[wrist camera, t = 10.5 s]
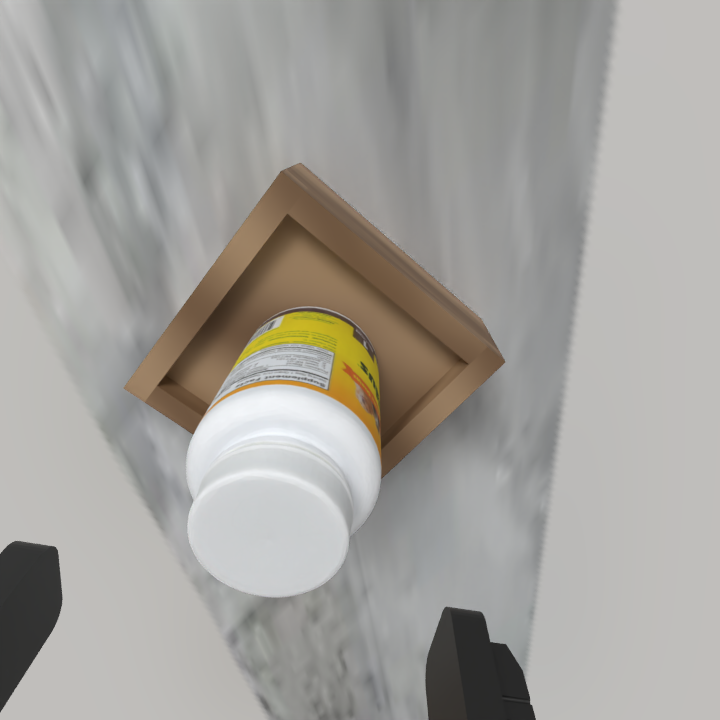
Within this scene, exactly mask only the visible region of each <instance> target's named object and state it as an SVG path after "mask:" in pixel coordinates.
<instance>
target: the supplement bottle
mask: <svg viewBox="0 0 720 720" xmlns="http://www.w3.org/2000/svg"><path fill="white" fill-rule="evenodd" d="M381 473H382V463H381V428H380V392H379V368H378V361H377V357H376V353H375V350H374V348H373V346H372V344H371V342H370V340H369V339H368V337H367V336H366V334H365V333H364V332H363V331H362V329H361V328H360V327H359V326H358V325H357V324H355V323H354V322H353V321H352V320H350V319H349V318H347V317H345V316H344V315H342V314H340V313H338V312H335V311H332V310H329V309H326V308H321V307H311V306H307V307H296V308H292V309H288V310H285V311H282V312H280V313H278V314H276V315H274V316H272V317H271V318H269V319H268V320H267V321H265V322H264V323H263V324H262V325H261V326H260V327H259V328H258V329H257V330H256V332H255V333H254V335H253V336H252V337H251V339H250V340H249V342H248V344H247V345H246V347H245V348H244V350H243V352H242V353H241V355H240V357H239V358H238V360H237V362H236V363H235V365H234V366H233V368H232V370H231V372H230V373H229V375H228V376H227V378H226V380H225V381H224V383H223V385H222V386H221V388H220V390H219V391H218V393H217V395H216V396H215V398H214V400H213V401H212V403H211V405H210V406H209V408H208V410H207V411H206V413H205V415H204V416H203V418H202V420H201V421H200V423H199V425H198V427H197V429H196V430H195V433H194V435H193V437H192V439H191V441H190V445H189V448H188V452H187V458H186V477H187V483H188V487H189V490H190V493H191V495H192V498H193V500H194V502H193V504H192V507H191V509H190V512H189V516H188V522H187V531H188V539H189V543H190V546H191V548H192V551H193V553H194V555H195V556H196V558H197V559H198V561H199V562H200V564H201V565H202V566H203V567H204V568H205V569H206V570H207V571H208V572H209V573H210V574H211V575H212V576H214V577H215V578H216V579H217V580H219V581H220V582H222V583H224V584H225V585H227V586H229V587H231V588H233V589H236V590H238V591H241V592H244V593H247V594H252V595H257V596H263V597H275V598H276V597H289V596H296V595H300V594H304V593H307V592H309V591H312V590H314V589H316V588H318V587H320V586H321V585H323V584H325V583H326V582H327V581H329V580H330V579H331V578H332V577H333V576H334V575H335V574H336V573H337V572H338V571H339V569H340V568H341V566H342V565H343V563H344V561H345V558H346V556H347V553H348V549H349V544H350V536H352V535H353V534H354V533H355V532H356V531H357V530H358V529H359V528H360V527H361V526H362V525H363V524H364V523H365V521H366V520H367V519H368V517H369V516H370V514H371V512H372V510H373V508H374V506H375V504H376V501H377V499H378V496H379V491H380V485H381Z"/></svg>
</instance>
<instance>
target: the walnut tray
mask: <svg viewBox="0 0 720 720" xmlns="http://www.w3.org/2000/svg"><path fill="white" fill-rule="evenodd" d="M307 306H311V307H321V308H326V309H329V310H332V311H335V312H338V313H340V314H342V315H344V316H345V317H347V318H349V319H350V320H352V321H353V322H354V323H355V324H357V325H358V326H359V327H360V328H361V329H362V331H363V332H364V333H365V334H366V336H367V337H368V339H369V340H370V342H371V344H372V346H373V348H374V350H375V353H376V357H377V361H378V368H379V392H380V428H381V463H382V473H381V479H382V478H383V477H384V476H385V475H386V474H387V473H388V472H389V471H390V470H391V469H392V468H393V467H394V466H396V465H397V464H398V463H399V462H400V461H401V460H402V459H403V458H404V457H405V456H406V455H407V454H408V453H409V452H410V451H411V450H413V449H414V448H415V447H416V446H417V445H418V444H419V443H420V442H421V441H422V440H423V439H424V438H425V437H426V436H427V435H429V434H430V433H431V432H432V431H433V430H434V429H435V428H436V427H437V426H438V425H439V424H440V423H441V422H442V421H443V420H444V419H446V418H447V417H448V416H449V415H450V414H451V413H452V412H453V411H454V410H455V409H456V408H457V407H458V406H459V405H460V404H461V403H463V402H464V401H465V400H466V399H467V398H468V397H469V396H470V395H471V394H472V393H473V392H474V391H475V390H476V389H477V388H478V387H480V386H481V385H482V384H483V383H484V382H485V381H486V380H487V379H488V378H489V377H490V376H491V375H492V374H493V373H494V372H495V371H497V370H498V369H499V368H500V367H501V366H502V365H503V364H504V363H505V360H504V358H503V357H502V355H501V353H500V351H499V350H498V348H497V346H496V344H495V342H494V341H493V339H492V337H491V335H490V334H489V332H488V330H487V328H486V326H485V325H484V323H483V321H482V319H480V318H479V317H478V316H477V315H476V314H475V313H474V312H472V311H471V310H470V309H469V308H468V307H467V306H465V305H464V304H463V303H462V302H461V301H460V300H459V299H457V298H456V297H455V296H454V295H453V294H452V293H450V292H449V291H448V290H447V289H446V288H445V287H444V286H442V285H441V284H440V283H439V282H438V281H437V280H435V279H434V278H433V277H432V276H431V275H430V274H429V273H427V272H426V271H425V270H424V269H423V268H422V267H420V266H419V265H418V264H417V263H416V262H415V261H414V260H412V259H411V258H410V257H409V256H408V255H407V254H405V253H404V252H403V251H402V250H401V249H400V248H398V247H397V246H396V245H395V244H394V243H393V242H392V241H390V240H389V239H388V238H387V237H386V236H385V235H383V234H382V233H381V232H380V231H379V230H378V229H377V228H375V227H374V226H373V225H372V224H371V223H370V222H368V221H367V220H366V219H365V218H364V217H363V216H362V215H360V214H359V213H358V212H357V211H356V210H355V209H353V208H352V207H351V206H350V205H349V204H348V203H347V202H345V201H344V200H343V199H342V198H341V197H340V196H338V195H337V194H336V193H335V192H334V191H333V190H332V189H330V188H329V187H328V186H327V185H326V184H325V183H323V182H322V181H321V180H320V179H319V178H318V177H317V176H315V175H314V174H313V173H312V172H311V171H310V170H308V169H307V168H306V167H305V166H304V165H303V164H302V163H299V164H296V165H294V166H292V167H290V168H287V169H285V170H283V171H281V172H280V174H279V175H278V176H277V178H276V179H275V180H274V182H273V183H272V185H271V186H270V187H269V189H268V190H267V191H266V193H265V194H264V196H263V197H262V198H261V200H260V201H259V202H258V204H257V205H256V207H255V208H254V209H253V211H252V212H251V213H250V215H249V216H248V218H247V219H246V220H245V222H244V223H243V224H242V226H241V227H240V229H239V230H238V231H237V233H236V234H235V235H234V237H233V238H232V240H231V241H230V242H229V244H228V245H227V246H226V248H225V249H224V251H223V252H222V253H221V255H220V256H219V257H218V259H217V260H216V262H215V263H214V264H213V266H212V267H211V268H210V270H209V271H208V273H207V274H206V275H205V277H204V278H203V279H202V281H201V282H200V284H199V285H198V286H197V288H196V289H195V290H194V292H193V293H192V295H191V296H190V297H189V299H188V300H187V301H186V303H185V304H184V306H183V307H182V308H181V310H180V311H179V312H178V314H177V315H176V317H175V318H174V319H173V321H172V322H171V323H170V325H169V326H168V328H167V329H166V330H165V332H164V333H163V334H162V336H161V337H160V339H159V340H158V341H157V343H156V344H155V345H154V347H153V348H152V350H151V351H150V352H149V354H148V355H147V356H146V358H145V359H144V361H143V362H142V363H141V365H140V366H139V367H138V369H137V370H136V372H135V373H134V374H133V376H132V377H131V378H130V380H129V381H128V383H127V384H126V385H125V387H124V389H125V390H127V391H128V392H130V393H131V394H133V395H134V396H136V397H138V398H139V399H141V400H142V401H144V402H145V403H147V404H148V405H150V406H151V407H153V408H154V409H156V410H157V411H159V412H160V413H162V414H163V415H165V416H166V417H168V418H169V419H171V420H172V421H174V422H175V423H177V424H178V425H180V426H181V427H183V428H184V429H186V430H187V431H189V432H190V433H192V434H193V435H194V433H195V430H196V429H197V427H198V425H199V423H200V421H201V420H202V418H203V416H204V415H205V413H206V411H207V410H208V408H209V406H210V405H211V403H212V401H213V400H214V398H215V396H216V395H217V393H218V391H219V390H220V388H221V386H222V385H223V383H224V381H225V380H226V378H227V376H228V375H229V373H230V372H231V370H232V368H233V366H234V365H235V363H236V362H237V360H238V358H239V357H240V355H241V353H242V352H243V350H244V348H245V347H246V345H247V344H248V342H249V340H250V339H251V337H252V336H253V335H254V333H255V332H256V330H257V329H258V328H259V327H260V326H261V325H262V324H263V323H264V322H265V321H267V320H268V319H269V318H271V317H272V316H274V315H276V314H278V313H280V312H282V311H285V310H288V309H292V308H296V307H307Z"/></svg>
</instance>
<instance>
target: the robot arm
mask: <svg viewBox="0 0 720 720" xmlns="http://www.w3.org/2000/svg"><path fill="white" fill-rule="evenodd" d="M61 606H62V588H61V578H60V567H59V556H58V550H57V549H56V547H54V546H47V545H41V544H33V543H27V542H21V541H15V542H12V543H11V544H9V545H8V546H7V547H6V548H5V549H4V550H3V551H2V552H1V554H0V712H1V710H2V709H3V707H4V706H5V704H6V702H7V701H8V699H9V698H10V696H11V695H12V693H13V692H14V690H15V688H16V687H17V685H18V684H19V682H20V680H21V679H22V677H23V676H24V674H25V672H26V671H27V670H28V668H29V666H30V665H31V663H32V662H33V660H34V659H35V657H36V655H37V654H38V652H39V651H40V649H41V648H42V646H43V645H44V643H45V641H46V640H47V638H48V637H49V635H50V634H51V632H52V630H53V628H54V627H55V624H56V622H57V620H58V617H59V614H60V611H61ZM426 695H427V707H428V718H429V720H536V718H535V715H534V711H533V707H532V705H530V696H529V692H528V689H527V685H526V681H525V678H524V674H523V670H522V669H521V667H520V666H519V664H518V662H517V661H516V659H515V658H514V656H513V655H512V653H511V651H510V650H509V648H508V647H507V645H506V644H500V643H493V642H490V639H489V634H488V630H487V625H486V621H485V618H484V615H483V614H482V613H481V612H478V611H472V610H465V609H458V608H452V607H445V608H444V610H443V612H442V615H441V618H440V621H439V624H438V627H437V630H436V633H435V636H434V638H433V641H432V644H431V647H430V650H429V653H428V657H427V664H426Z"/></svg>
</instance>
